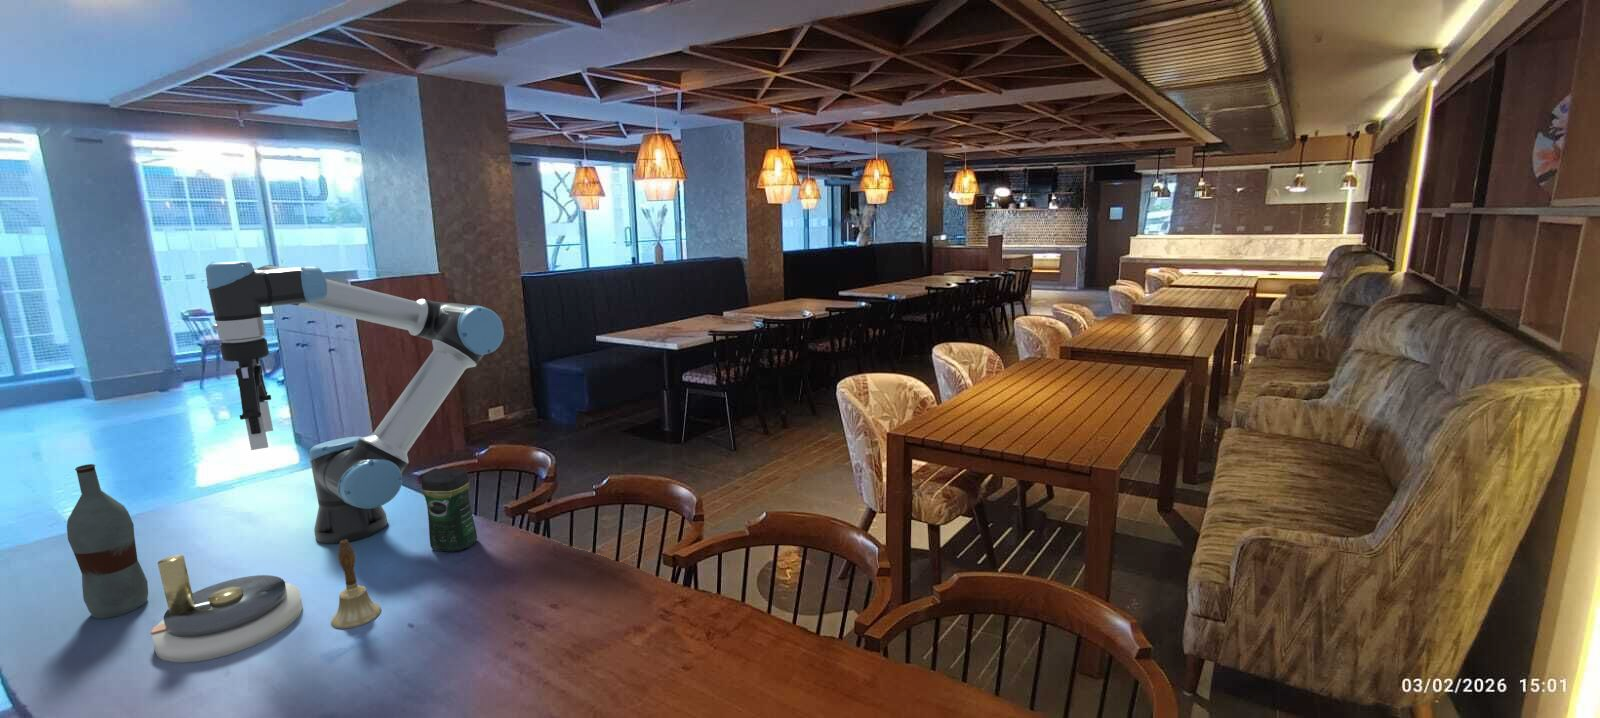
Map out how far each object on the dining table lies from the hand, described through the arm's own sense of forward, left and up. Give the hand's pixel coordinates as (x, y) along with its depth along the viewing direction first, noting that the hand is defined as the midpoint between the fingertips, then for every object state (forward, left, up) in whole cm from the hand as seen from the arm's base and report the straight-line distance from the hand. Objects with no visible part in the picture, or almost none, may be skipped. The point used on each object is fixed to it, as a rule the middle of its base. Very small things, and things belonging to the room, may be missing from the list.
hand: (262, 439), depth 148 cm
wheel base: (+8, +18, -31) cm, 36 cm away
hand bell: (-12, +28, -31) cm, 43 cm away
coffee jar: (-32, +6, -31) cm, 45 cm away
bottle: (+28, -4, -31) cm, 42 cm away
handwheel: (+8, +18, -27) cm, 34 cm away
